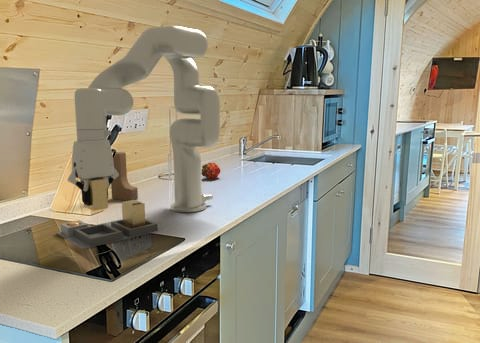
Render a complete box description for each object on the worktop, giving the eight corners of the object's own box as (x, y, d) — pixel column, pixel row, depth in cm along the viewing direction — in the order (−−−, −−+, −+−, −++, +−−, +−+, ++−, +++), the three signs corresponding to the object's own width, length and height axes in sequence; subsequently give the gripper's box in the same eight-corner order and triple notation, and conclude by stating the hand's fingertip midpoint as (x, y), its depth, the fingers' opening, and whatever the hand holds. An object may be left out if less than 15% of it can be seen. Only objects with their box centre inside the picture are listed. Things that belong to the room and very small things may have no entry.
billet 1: (98, 204, 127) (96, 175, 126) (107, 208, 123) (106, 178, 121) (84, 206, 125) (82, 176, 123) (93, 210, 120) (91, 180, 119)
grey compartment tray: (132, 221, 146) (132, 209, 145) (163, 234, 132) (162, 221, 132) (56, 238, 130) (55, 224, 129) (82, 254, 117) (81, 239, 116)
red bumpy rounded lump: (203, 184, 210) (214, 183, 222) (217, 174, 208) (228, 174, 219) (194, 169, 212) (205, 168, 223) (208, 159, 209) (219, 159, 221)
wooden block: (138, 198, 177) (136, 152, 174) (131, 201, 173) (129, 154, 170) (118, 197, 180) (116, 151, 177) (111, 199, 176) (109, 153, 172)
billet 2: (135, 225, 136) (134, 199, 135) (145, 230, 132) (144, 202, 130) (123, 228, 134) (121, 201, 132) (133, 233, 129) (131, 205, 128)
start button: (77, 229, 132) (76, 221, 132) (81, 231, 130) (80, 223, 130) (67, 231, 130) (67, 223, 130) (71, 233, 128) (70, 225, 128)
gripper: (114, 133, 129) (117, 196, 132) (54, 136, 118) (59, 205, 121) (127, 134, 123) (130, 201, 126) (65, 138, 112) (70, 211, 115)
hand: (95, 202), depth 124 cm, fingers closed on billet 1, 4 cm apart
